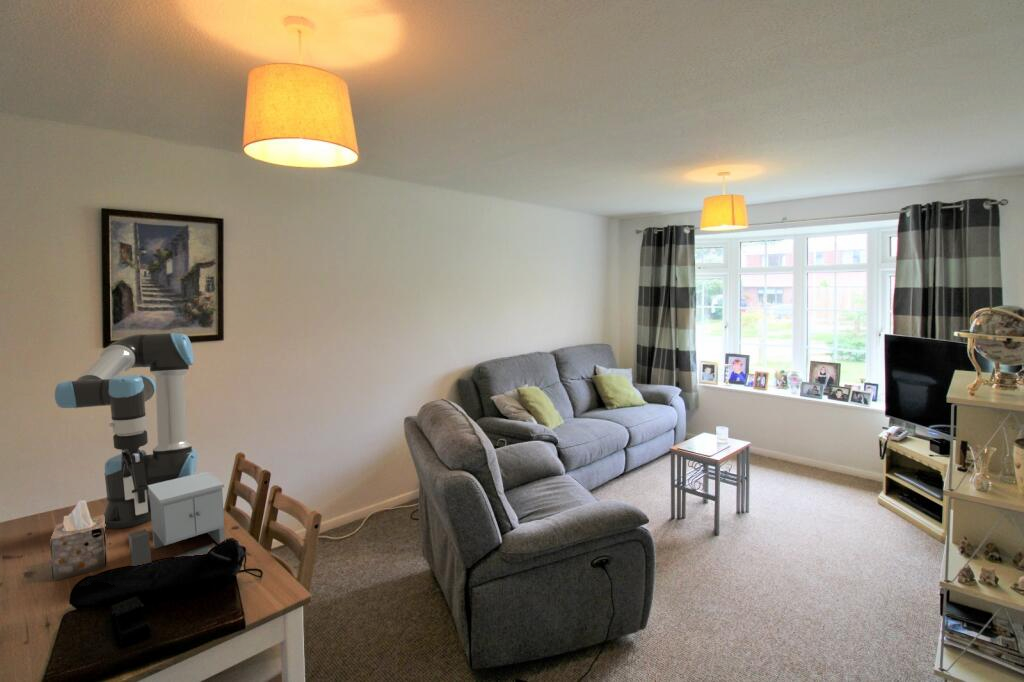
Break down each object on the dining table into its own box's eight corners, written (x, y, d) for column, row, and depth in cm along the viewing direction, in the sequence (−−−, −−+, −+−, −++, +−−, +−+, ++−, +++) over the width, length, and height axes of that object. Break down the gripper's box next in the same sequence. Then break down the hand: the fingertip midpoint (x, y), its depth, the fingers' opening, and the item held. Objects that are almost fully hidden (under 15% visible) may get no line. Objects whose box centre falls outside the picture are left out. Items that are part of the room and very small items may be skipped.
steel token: (188, 561, 152) (188, 553, 152) (207, 554, 156) (207, 547, 156) (193, 567, 149) (193, 559, 149) (212, 560, 152) (212, 553, 152)
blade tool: (131, 574, 145) (128, 533, 143) (213, 546, 160) (211, 509, 159) (135, 579, 142) (131, 538, 141) (217, 550, 158) (215, 513, 156)
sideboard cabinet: (151, 546, 160) (146, 485, 158) (211, 528, 172) (207, 471, 170) (165, 567, 148) (160, 501, 146) (228, 545, 161) (224, 484, 158)
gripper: (104, 425, 146) (111, 496, 149) (122, 445, 129) (129, 524, 132) (136, 420, 152) (142, 489, 154) (157, 438, 134) (163, 515, 137)
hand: (136, 505), depth 143 cm, fingers open, 13 cm apart
